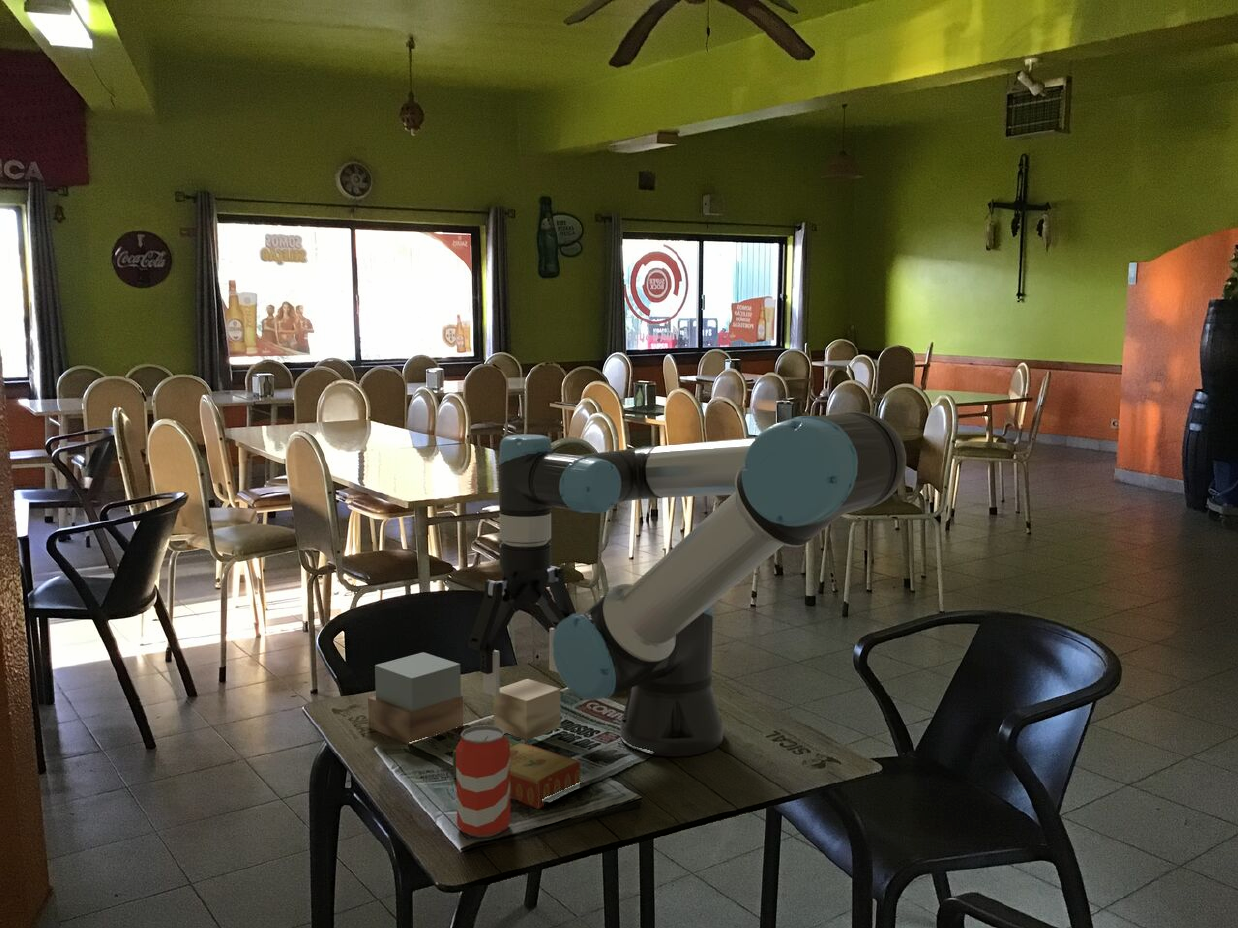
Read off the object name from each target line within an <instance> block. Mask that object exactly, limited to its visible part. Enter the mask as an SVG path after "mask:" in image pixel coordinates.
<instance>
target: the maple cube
mask: <svg viewBox="0 0 1238 928" xmlns="http://www.w3.org/2000/svg"><path fill="white" fill-rule="evenodd" d="M561 697H562V696H561V688H559V687H556V686H554V685H550V684H546V683H543V682H539V681H537V680H532V679H530V678H526V679H522V680H519V681H517V682H513V683H511V684H507V685H505V686H502V687H501V686H500V695H499V696H496V697H495V696H493V695H492V699H493V700H492V701H493V705H492V706H493V726H495V727H500V728H501V729H502V730H503V731H505V733H508V734H511V735H513V736H515V737H520V738H523V739H526V740H529V739H531V738H534V737H538V736H541V735H543V734H546V733H548V732H551V731H553V730H555V729H557V728H559V727H561V723H562V721H561V720H562V719H561V710H562V709H561V708H562V707H561V705H562V704H561V699H562V698H561ZM561 728H562V727H561Z"/></svg>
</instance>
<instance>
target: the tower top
mask: <svg viewBox="0 0 1238 928" xmlns="http://www.w3.org/2000/svg"><path fill="white" fill-rule="evenodd" d="M374 674H375V675H374V678H375V683H374V684H375V685H374V686H375V696H376V698H378V699H381V700H384V701H386V702H389V703H391V704H394V705H396V706H399V707H402V708H404V709H407V710H409V711H412V712H413V711H416V710H419V709H423V708H426V707H429V706H432V705H435V704H438V703H441V702H445V701H448V700H451V699H454V698H457V697H460V696H462V695H461V693H462V692H461V691H462V689H461V687H462V686H461V684H462V683H461V681H462V680H461V678H462V677H461V664H460V663H458V662H455V661H453V660H452V661H451V660H450V659H449V660H448V659H445V658H442V657H439V656H436V655H433V654H430V653H427V652H423V651H422V652H419V653H415V654H412V655H408V656H407V655H406V656H404V657H401V658H397V659H394V660H390V661H386V662H383V663H378V664H375V665H374Z"/></svg>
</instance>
